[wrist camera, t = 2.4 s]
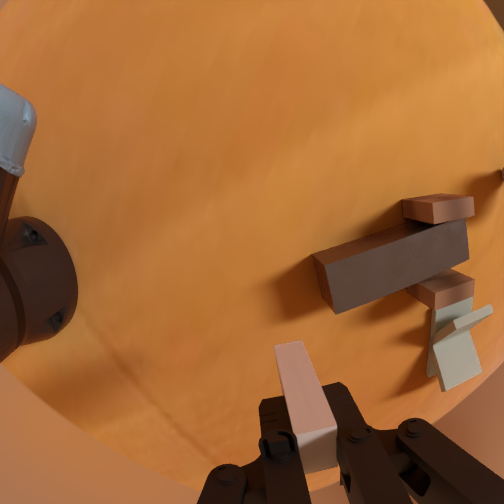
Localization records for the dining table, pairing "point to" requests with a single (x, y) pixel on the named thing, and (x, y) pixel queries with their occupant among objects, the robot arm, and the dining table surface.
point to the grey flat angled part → (454, 343)
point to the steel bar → (388, 261)
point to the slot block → (449, 281)
